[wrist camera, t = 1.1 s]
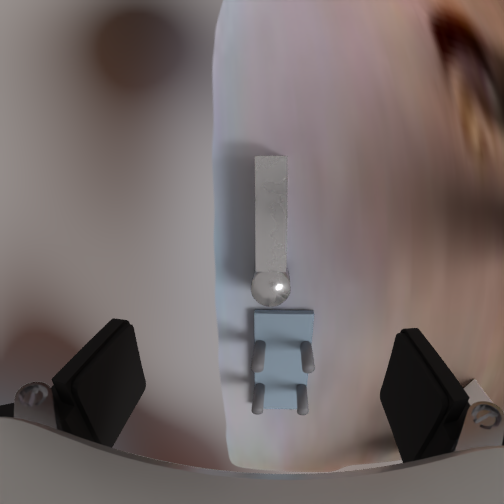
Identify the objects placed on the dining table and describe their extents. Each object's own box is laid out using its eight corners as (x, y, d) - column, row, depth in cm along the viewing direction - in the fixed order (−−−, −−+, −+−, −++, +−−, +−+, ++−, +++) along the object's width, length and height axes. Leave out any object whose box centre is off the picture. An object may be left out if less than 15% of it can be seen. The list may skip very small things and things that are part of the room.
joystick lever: (253, 158, 35) (249, 156, 31) (290, 158, 35) (292, 156, 31) (254, 291, 40) (251, 306, 35) (288, 292, 39) (289, 307, 35)
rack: (254, 309, 40) (250, 334, 34) (313, 310, 40) (318, 335, 33) (255, 403, 45) (251, 431, 39) (303, 404, 44) (305, 432, 38)
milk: (474, 378, 41) (526, 450, 20) (480, 390, 42) (527, 458, 21) (451, 398, 42) (496, 475, 21) (459, 409, 43) (499, 481, 22)
